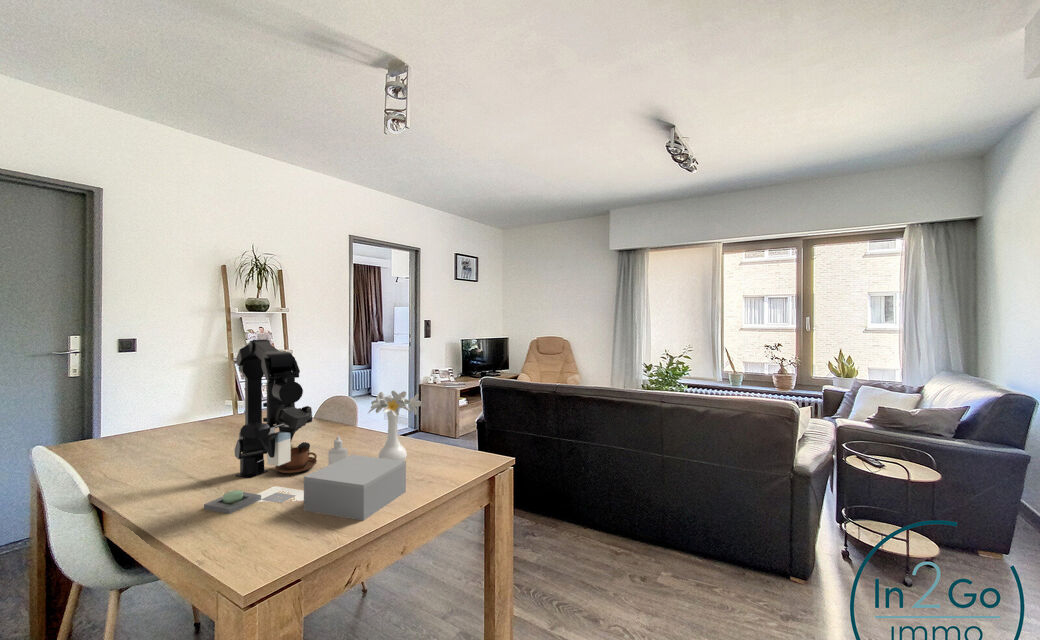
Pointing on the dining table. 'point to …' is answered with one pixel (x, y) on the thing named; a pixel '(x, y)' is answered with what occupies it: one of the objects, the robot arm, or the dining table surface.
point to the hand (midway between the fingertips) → (278, 454)
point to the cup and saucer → (298, 461)
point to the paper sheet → (281, 494)
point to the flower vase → (394, 421)
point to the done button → (233, 496)
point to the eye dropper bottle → (337, 452)
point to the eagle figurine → (302, 446)
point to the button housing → (226, 508)
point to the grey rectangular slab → (354, 486)
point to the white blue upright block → (281, 449)
